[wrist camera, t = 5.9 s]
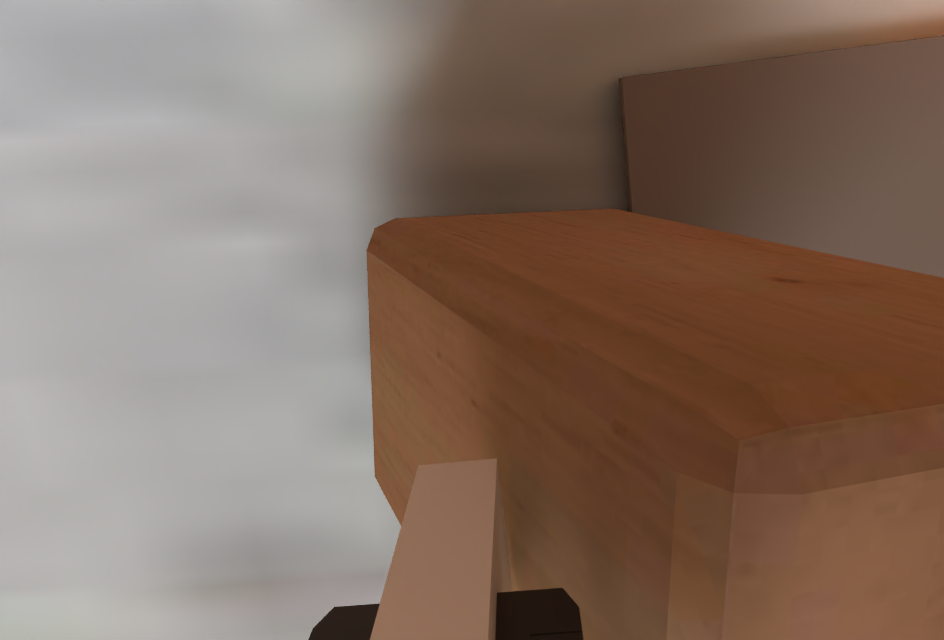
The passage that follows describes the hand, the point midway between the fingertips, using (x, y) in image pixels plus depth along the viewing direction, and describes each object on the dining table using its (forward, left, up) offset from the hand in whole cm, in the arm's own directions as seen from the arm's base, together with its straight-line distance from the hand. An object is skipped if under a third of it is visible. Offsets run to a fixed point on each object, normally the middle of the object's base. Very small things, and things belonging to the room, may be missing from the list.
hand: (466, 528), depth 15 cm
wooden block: (+1, 0, -15) cm, 15 cm away
